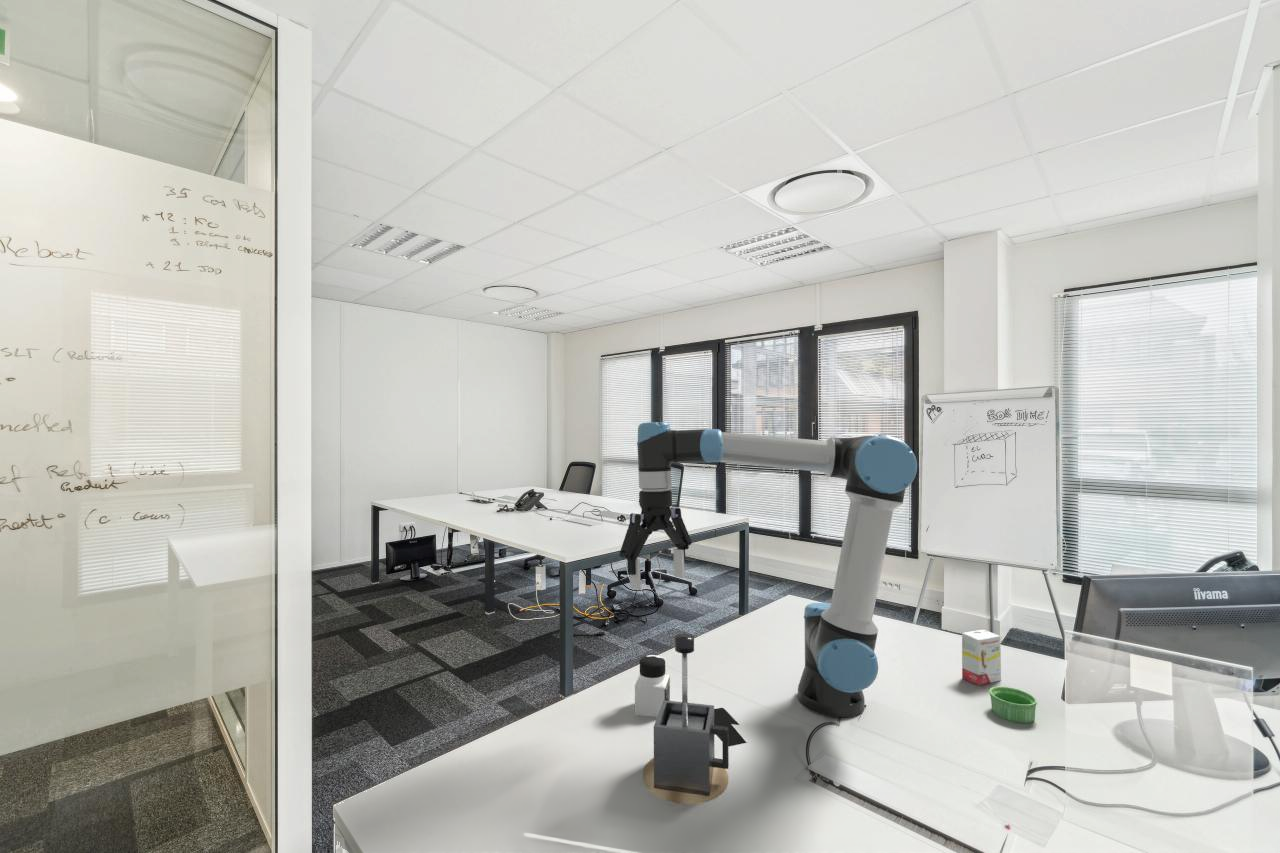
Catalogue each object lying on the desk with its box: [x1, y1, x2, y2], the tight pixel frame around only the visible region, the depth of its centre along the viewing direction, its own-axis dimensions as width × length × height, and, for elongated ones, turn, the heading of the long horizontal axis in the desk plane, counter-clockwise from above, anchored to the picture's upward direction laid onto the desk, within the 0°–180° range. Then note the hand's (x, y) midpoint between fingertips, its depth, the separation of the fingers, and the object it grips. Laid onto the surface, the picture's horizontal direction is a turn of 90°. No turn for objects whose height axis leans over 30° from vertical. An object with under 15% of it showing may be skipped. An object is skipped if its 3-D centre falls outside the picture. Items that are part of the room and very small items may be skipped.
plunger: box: [666, 633, 705, 730], centre depth 101 cm, size 7×7×17 cm
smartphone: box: [714, 707, 748, 748], centre depth 117 cm, size 7×1×15 cm
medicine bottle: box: [634, 654, 671, 718], centre depth 125 cm, size 7×7×12 cm
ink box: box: [961, 629, 1002, 686], centre depth 140 cm, size 9×5×12 cm, turn 110°
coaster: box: [642, 757, 730, 805], centre depth 100 cm, size 16×16×1 cm
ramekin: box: [988, 686, 1038, 724], centre depth 123 cm, size 9×9×4 cm
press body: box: [653, 700, 730, 796], centre depth 100 cm, size 13×10×11 cm
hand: (658, 582), depth 122 cm, fingers open, 13 cm apart
